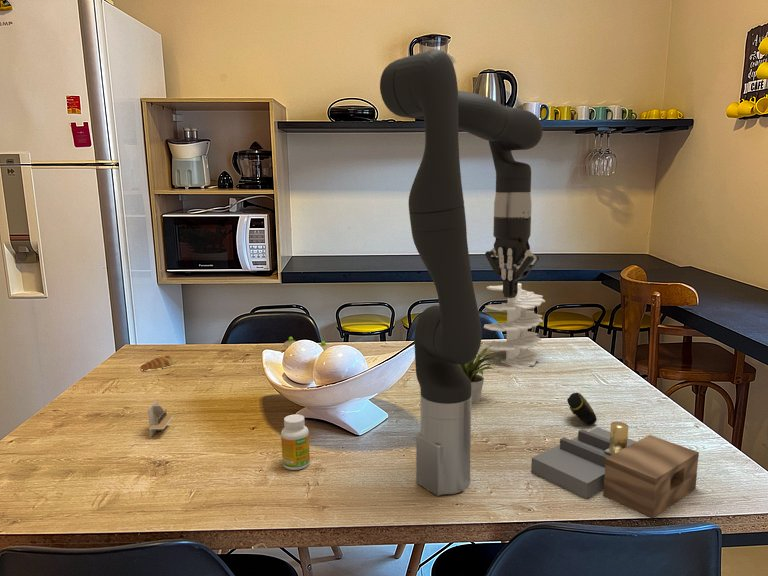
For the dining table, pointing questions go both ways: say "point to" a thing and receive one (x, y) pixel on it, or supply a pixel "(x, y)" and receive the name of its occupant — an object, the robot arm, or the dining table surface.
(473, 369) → the house plant
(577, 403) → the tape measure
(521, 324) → the spiral staircase
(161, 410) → the architectural model
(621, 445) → the bolt
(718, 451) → the dining table surface
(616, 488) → the block
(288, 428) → the supplement bottle
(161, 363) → the pastry
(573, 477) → the grey grooved block
